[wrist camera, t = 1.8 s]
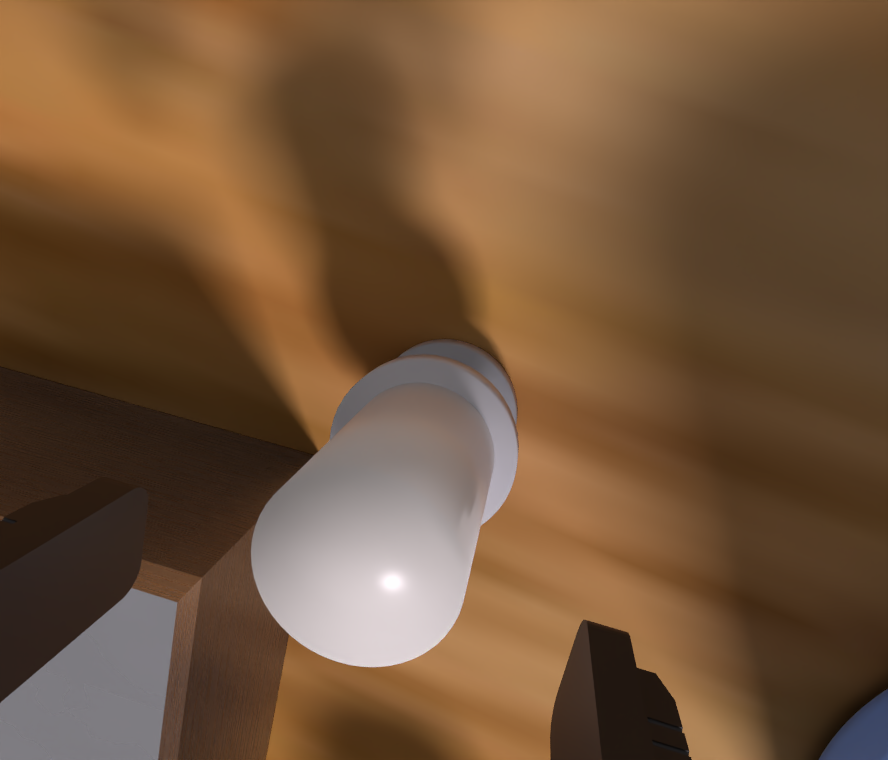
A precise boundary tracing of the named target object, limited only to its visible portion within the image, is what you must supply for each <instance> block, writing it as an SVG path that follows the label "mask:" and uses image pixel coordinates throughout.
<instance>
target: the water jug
mask: <svg viewBox="0 0 888 760" xmlns="http://www.w3.org/2000/svg"><path fill="white" fill-rule="evenodd" d="M819 760H888V689H886V690H885V691H883V692H882V693H880V694H879V695H878V696H876V697H875V698H874V699H872V700H871V701H870V702H868V703H867V704H866V705H865V706H863V707H862V708H861V709H860V710H859V711H858V712H856V713H855V714H854V715H853V716H852V717H851V718H850V719H849V720H848V721H847V722H846V723H845V724H844V725H843V726H842V728H841V729H840V730H839V731H838V732H837V733H836V735H835V736H834V737H833V738H832V740H831V741H830V743H829V744H828V745H827V747H826V748H825V750H824V751H823V753H822V755H821V756H820V758H819Z"/></svg>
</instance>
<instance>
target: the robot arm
mask: <svg viewBox="0 0 888 760" xmlns="http://www.w3.org/2000/svg"><path fill="white" fill-rule="evenodd" d="M147 509H148V494H147V492H146V490H145V489H144V488H141V487H138V486H135V485H131V484H128V483H125V482H121V481H118V480H114V479H111V478H108V477H100V478H98V479H96V480H94V481H92V482H90V483H88V484H86V485H85V486H83V487H81V488H79V489H77V490H75V491H73V492H71V493H70V494H68V495H65V494H64V495H60V496H56V497H52V498H48V499H44V500H41V501H37V502H33V503H30V504H28V505H26V506H24V507H22V508H20V509H18V510H16V511H14V512H12V513H10V514H8V515H7V516H5V517H4V518H3V520H2V521H1V520H0V703H1V702H2V701H3V700H4V699H5V698H6V697H8V696H9V695H10V694H11V693H12V692H14V691H15V690H16V689H17V688H18V687H19V686H21V685H22V684H23V683H24V682H25V681H26V680H28V679H29V678H30V677H31V676H32V675H34V674H35V673H36V672H37V671H38V670H39V669H41V668H42V667H43V666H44V665H45V664H46V663H48V662H49V661H50V660H51V659H52V658H54V657H55V656H56V655H57V654H58V653H59V652H61V651H62V650H63V649H64V648H65V647H66V646H68V645H69V644H70V643H71V642H72V641H74V640H75V639H76V638H77V637H78V636H79V635H81V634H82V633H83V632H84V631H85V630H86V629H88V628H89V627H90V626H91V625H92V624H94V623H95V622H96V621H97V620H98V619H99V618H101V617H102V616H103V615H104V614H105V613H106V612H108V611H109V610H110V609H111V608H112V607H114V606H115V605H116V604H117V603H118V602H119V601H121V600H122V599H123V598H124V597H125V596H126V595H127V593H128V592H129V591H130V589H131V588H132V586H133V584H134V582H135V581H136V578H137V576H138V573H139V571H140V567H141V561H142V552H143V544H144V535H145V526H146V517H147ZM682 728H683V727H682V724H681V720H680V717H679V713H678V710H677V706H676V702H675V700H674V698H673V697H672V696H671V694H670V693H669V692H668V690H667V689H666V687H665V686H664V685H663V683H662V682H661V680H660V679H659V678H658V676H657V675H656V673H652V672H649V671H646V670H642V669H639V668H637V667H636V662H635V658H634V653H633V648H632V644H631V639H630V635H629V634H628V633H627V632H625V631H621V630H618V629H614V628H611V627H608V626H604V625H601V624H597V623H594V622H591V621H587V620H583V621H582V623H581V625H580V627H579V629H578V632H577V635H576V638H575V641H574V644H573V647H572V650H571V653H570V656H569V659H568V662H567V665H566V668H565V671H564V675H563V678H562V681H561V684H560V687H559V690H558V693H557V696H556V700H555V704H554V709H553V715H552V722H551V733H550V748H551V760H692V759H691V757H689V749H688V745H687V742H686V738H685V734H684V733H682Z"/></svg>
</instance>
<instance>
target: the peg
mask: <svg viewBox="0 0 888 760" xmlns="http://www.w3.org/2000/svg"><path fill="white" fill-rule="evenodd" d="M517 410H518V408H517V398H516V394H515V390H514V387H513V385H512V382H511V380H510V378H509V376H508V374H507V373H506V371H505V370H504V369H503V367H502V366H501V365H500V364H499V363H498V362H497V360H496V359H494V358H493V357H492V356H491V355H490V354H488V353H487V352H485V351H484V350H482V349H481V348H479V347H477V346H475V345H472V344H470V343H467V342H464V341H459V340H454V339H436V340H431V341H426V342H423V343H420V344H417V345H415V346H413V347H411V348H410V349H408V350H407V351H405V352H404V353H402V354H401V355H400V356H399V357H398V358H396V359H394V360H391V361H388V362H386V363H384V364H382V365H380V366H378V367H377V368H375V369H374V370H372V371H371V372H370V373H368V374H367V375H366V376H364V377H363V378H362V379H361V380H360V381H359V382H357V383H356V384H355V385H354V386H353V387H352V388H351V389H350V391H349V392H348V393H347V394H346V396H345V397H344V398H343V400H342V402H341V404H340V405H339V407H338V409H337V412H336V414H335V417H334V420H333V424H332V427H331V434H330V441H329V442H328V443H326V444H325V445H324V446H323V447H322V448H321V449H320V450H319V451H318V452H317V453H316V454H315V455H314V456H313V457H312V458H311V459H310V460H309V461H308V462H307V463H306V464H305V465H304V466H303V467H302V468H301V469H300V470H299V471H298V472H297V473H296V474H295V475H294V476H293V477H292V478H291V479H290V480H288V481H287V482H286V483H285V484H284V485H283V486H282V487H281V488H280V489H279V490H278V491H277V492H276V493H275V494H274V495H273V496H272V498H271V499H270V500H269V501H268V503H267V504H266V505H265V507H264V509H263V510H262V512H261V514H260V516H259V518H258V521H257V523H256V526H255V529H254V533H253V537H252V545H251V563H252V570H253V575H254V579H255V582H256V585H257V588H258V591H259V593H260V595H261V598H262V600H263V602H264V604H265V605H266V607H267V608H268V610H269V612H270V613H271V615H272V616H273V617H274V618H275V620H276V621H277V622H278V623H279V625H280V626H281V627H282V628H283V629H284V630H285V631H286V632H287V633H288V634H289V635H291V636H292V637H293V638H294V639H295V640H297V641H298V642H299V643H301V644H302V645H304V646H305V647H307V648H308V649H310V650H311V651H313V652H315V653H317V654H319V655H321V656H323V657H326V658H328V659H331V660H334V661H336V662H340V663H344V664H348V665H354V666H361V667H383V666H391V665H396V664H400V663H404V662H407V661H409V660H412V659H415V658H417V657H418V656H420V655H422V654H424V653H426V652H427V651H429V650H430V649H431V648H433V647H434V646H436V645H437V644H438V643H439V642H440V641H441V640H442V639H443V638H444V637H445V636H446V635H447V633H448V632H449V631H450V629H451V628H452V627H453V625H454V623H455V621H456V619H457V617H458V616H459V613H460V610H461V607H462V605H463V601H464V597H465V592H466V588H467V583H468V579H469V575H470V570H471V566H472V561H473V557H474V553H475V548H476V544H477V539H478V535H479V531H480V526H481V525H482V524H484V523H485V522H486V521H487V520H489V519H490V518H491V517H492V516H493V515H494V514H495V513H496V512H497V511H498V509H499V508H500V507H501V505H502V504H503V503H504V501H505V499H506V498H507V496H508V494H509V492H510V490H511V487H512V484H513V481H514V478H515V473H516V468H517V461H518V448H519V444H518V433H517V429H516V421H517Z"/></svg>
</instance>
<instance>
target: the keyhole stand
mask: <svg viewBox="0 0 888 760" xmlns="http://www.w3.org/2000/svg"><path fill="white" fill-rule="evenodd" d="M313 456H314V455H311V454H308V453H304V452H301V451H297V450H293V449H290V448H286V447H283V446H279V445H276V444H272V443H269V442H265V441H262V440H258V439H254V438H251V437H247V436H244V435H240V434H237V433H233V432H230V431H226V430H223V429H219V428H215V427H212V426H208V425H205V424H201V423H198V422H194V421H191V420H187V419H184V418H180V417H176V416H173V415H169V414H166V413H162V412H159V411H155V410H152V409H148V408H145V407H141V406H137V405H134V404H130V403H127V402H123V401H120V400H116V399H113V398H109V397H105V396H102V395H98V394H95V393H91V392H88V391H84V390H81V389H77V388H74V387H70V386H66V385H63V384H59V383H56V382H52V381H49V380H45V379H42V378H38V377H35V376H31V375H27V374H24V373H20V372H17V371H13V370H10V369H6V368H3V367H0V520H1V521H2V520H3V518H4V517H5V516H7V515H8V514H10V513H12V512H14V511H16V510H18V509H20V508H22V507H24V506H26V505H28V504H30V503H33V502H37V501H41V500H44V499H48V498H52V497H56V496H60V495H64V494H65V495H68V494H70V493H71V492H73V491H75V490H77V489H79V488H81V487H83V486H85V485H86V484H88V483H90V482H92V481H94V480H96V479H98V478H100V477H108V478H111V479H114V480H118V481H121V482H125V483H128V484H131V485H135V486H138V487H141V488H144V489H145V490H146V492H147V494H148V509H147V517H146V526H145V535H144V544H143V552H142V561H141V567H140V571H139V573H138V576H137V578H136V581H135V582H134V584H133V586H132V588H131V589H130V591H129V592H128V593H127V595H126V596H125V597H124V598H123V599H122V600H121V601H119V602H118V603H117V604H116V605H115V606H114V607H112V608H111V609H110V610H109V611H108V612H106V613H105V614H104V615H103V616H102V617H101V618H99V619H98V620H97V621H96V622H95V623H94V624H92V625H91V626H90V627H89V628H88V629H86V630H85V631H84V632H83V633H82V634H81V635H79V636H78V637H77V638H76V639H75V640H74V641H72V642H71V643H70V644H69V645H68V646H66V647H65V648H64V649H63V650H62V651H61V652H59V653H58V654H57V655H56V656H55V657H54V658H52V659H51V660H50V661H49V662H48V663H46V664H45V665H44V666H43V667H42V668H41V669H39V670H38V671H37V672H36V673H35V674H34V675H32V676H31V677H30V678H29V679H28V680H26V681H25V682H24V683H23V684H22V685H21V686H19V687H18V688H17V689H16V690H15V691H14V692H12V693H11V694H10V695H9V696H8V697H6V698H5V699H4V700H3V701H2V702H1V703H0V760H266V755H267V750H268V744H269V739H270V733H271V728H272V722H273V717H274V712H275V706H276V701H277V695H278V690H279V684H280V679H281V673H282V668H283V662H284V657H285V652H286V646H287V641H288V635H289V634H288V633H287V632H286V631H285V630H284V629H283V628H282V627H281V626H280V625H279V623H278V622H277V621H276V620H275V618H274V617H273V616H272V615H271V613H270V612H269V610H268V608H267V607H266V605H265V604H264V602H263V600H262V598H261V595H260V593H259V591H258V588H257V585H256V582H255V579H254V575H253V570H252V563H251V545H252V537H253V533H254V529H255V526H256V523H257V521H258V518H259V516H260V514H261V512H262V510H263V509H264V507H265V505H266V504H267V503H268V501H269V500H270V499H271V498H272V496H273V495H274V494H275V493H276V492H277V491H278V490H279V489H280V488H281V487H282V486H283V485H284V484H285V483H286V482H287V481H288V480H290V479H291V478H292V477H293V476H294V475H295V474H296V473H297V472H298V471H299V470H300V469H301V468H302V467H303V466H304V465H305V464H306V463H307V462H308V461H309V460H310V459H311V458H312V457H313Z"/></svg>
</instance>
